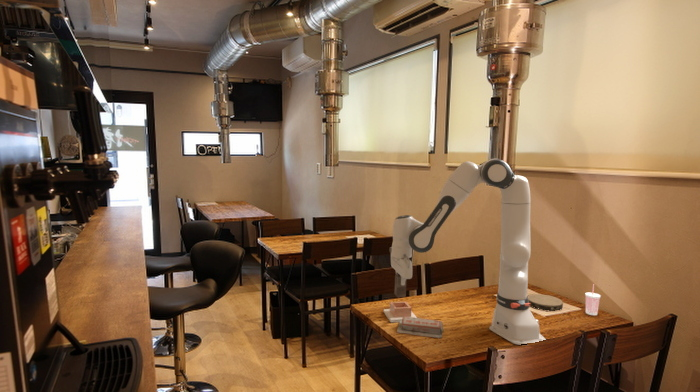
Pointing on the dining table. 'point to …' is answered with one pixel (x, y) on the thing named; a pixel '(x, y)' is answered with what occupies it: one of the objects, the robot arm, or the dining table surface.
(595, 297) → the beverage cup
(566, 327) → the dining table surface
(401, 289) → the peg
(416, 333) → the packaged product
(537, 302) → the grey round disc
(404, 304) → the square socket base
